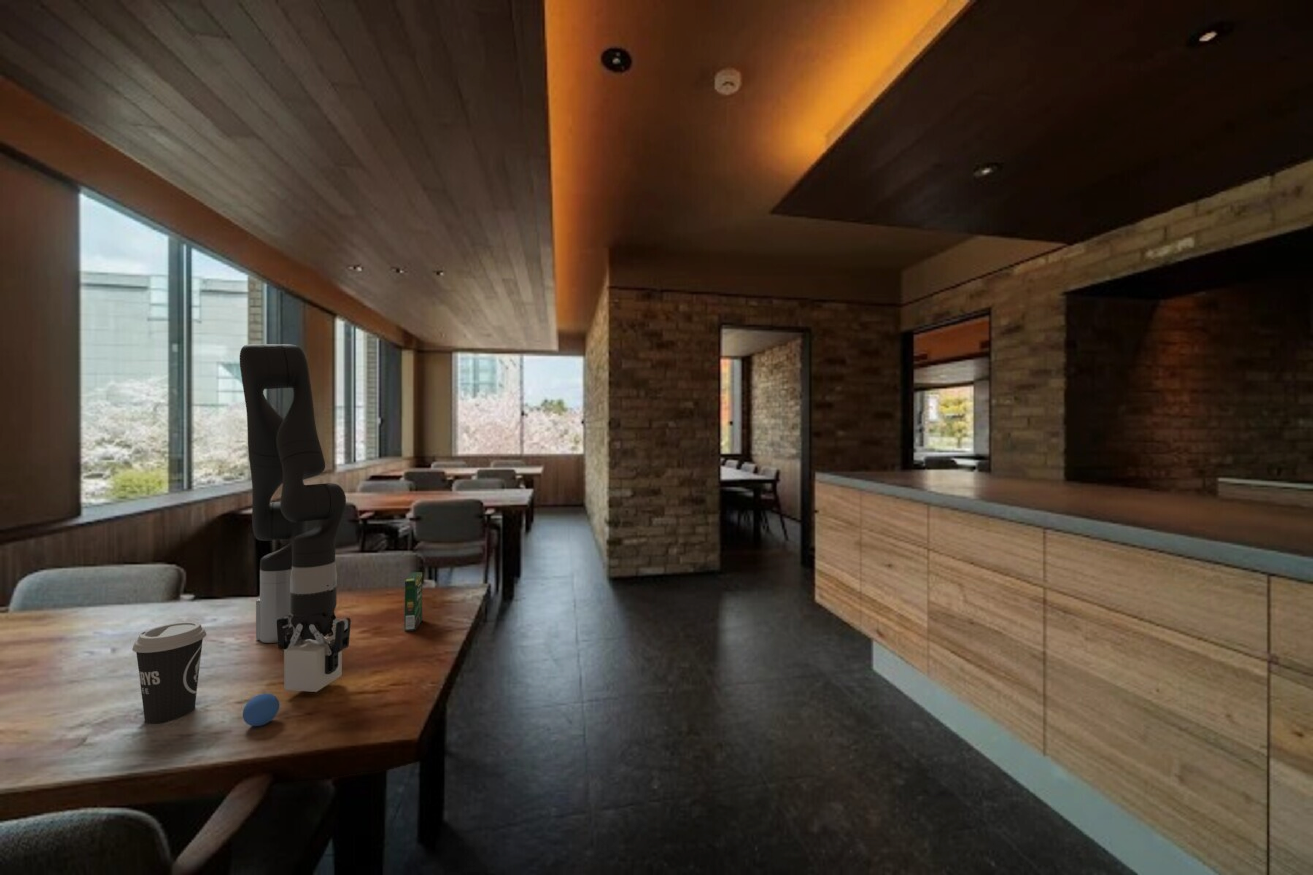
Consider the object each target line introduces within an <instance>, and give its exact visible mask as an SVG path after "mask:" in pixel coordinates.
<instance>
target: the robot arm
mask: <svg viewBox="0 0 1313 875" xmlns="http://www.w3.org/2000/svg"><path fill="white" fill-rule="evenodd" d="M239 367H240V368H239V369H240V377H241V382H242V383H241V384H242V389H243V396H244V403H245V408H246V409H245V410H246V420H247V421H246V422H247V425H246V426H247V450H248V451H247V452H248V461H249V468H250V469H249V470H250V477H251V485H252V487H251V488H252V491H251V492H252V500H251V501H252V503H251V504H252V505H251V507H252V509H251V510H252V511H251V520H252V521H251V525H252V532H253V535H254V537H255V539H256V540H258V541H279V540H288V539H289V540H290V542H289V543H288V544H287V545H285V546H284V547H282V548H280V549H278V550H275V551H273V552H270V553H267V554H266V555H264V556H262V557H261V558H260V561H259V598H258V599H257V600H256V601H255V640H259V641H260V642H261V643H267V644H268V643H269V644H273V643H274V644H275V643H277V646H278V649H279V650H285V649H287V648H289V647H291V646H296V645H297V644H298V643H300V642H302V641H305V640H307V639H311V640H317V642H318V644H319V646H322V647H325V653H326V656H325V674H331V673H332V672H334V671H335V670H336V668H337V667H338V653H339V652H340V651H342V652H343V650H346V649H347V648H348V647H349V646H350V636H351V634H350V633H351V622H352V620H351V618H350V617H346V618H337V616H336V613H335V610H336V607H337V603H338V602H337V600H338V599H337V595H338V592H337V588H338V586H337V580H338V579H337V578H338V574H337V566H336V540H337V535H338V532H339V530H340V529H339V528H340V526H341V525H340V524H341V522H342V519H343V515H344V513H345V509H346V506H347V497H346V493H345V491H344V490H343V488H342V486H340V485H339V484H337V483H333V482H332V483H331V482H330V483H329V482H327V483H318V484H317V483H313V484H305V483H304V480H307V479H308V480H309V479H311V478H314V477H317V476H319V475H321V474H322V473H323V472H324V471H325V469H326V460H325V457H324V454H323V450H322V446H321V443H320V440H319V435H318V432H317V427H316V426H317V425H316V419H315V418H316V417H315V412H314V411H315V408H314V402H313V401H314V400H313V392H312V384H311V377H310V371H309V367H308V361H307V358H306V355H305V352H304V350H303V349H302V348H301V347H300V346H298V345H296V344H290V343H282V344H280V343H279V344H276V343H272V344H271V343H269V344H268V343H263V344H262V343H261V344H260V343H254V344H252V343H251V344H246V345H243V346H242V347H241V349H240V351H239ZM291 388H292V390H293V398H292V402H291V405H290V407H289V409H288V411H287V413H286V414H285V416H284V418H283V417H282V416H281V414H279V413H278V412H277V411H276V409H274V408H273V406H272V405H271V404H270V402H269V401H268V399H267V397H266V396H265V395H264V390H275V389H291ZM281 485H282V487H281V496H280V501H274V502H271V500H272V498H273V496H274V494H275V492H277V490H278V489H279V488H280V486H281ZM310 521H311V522H312V521H313V522H314V521H317V523H316V525H315V527H313V528H312V529H311V530H308V522H310ZM324 637H328V638H327V639H326V638H324ZM329 642H330V643H332V647H331V646H330V644H329Z"/></svg>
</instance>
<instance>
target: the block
mask: <svg viewBox="0 0 1313 875" xmlns="http://www.w3.org/2000/svg"><path fill="white" fill-rule="evenodd" d="M328 637H329V636H325V637H324V638H326V639H327V638H328ZM329 644H330V646H331V647H332V643H330V642H329ZM283 651H284V652H283V668H284V669H283V672H284V673H283V683H284V685H283V690H284V691H297V692H298V691H299V692H314V693H317V692H318V691H321V690H322V689H323V688H324V687H326V686H328V685H329V684H331V683H332V682H334V681H335V680H337V679H338V678H340V677H342V674H343V673H342V672H343V668H342V667H343V666H342V664H343V662H342V660H343V658H342V657H343V656H342V655H343V654H342V653H343V650H342V651H340V652H339V653H338V667H337V668H336V670H335V671H334V672H332V673H331V674H325V656H326V653H325V647H322V646H319V644H318V642H317V640H311V639H307V640H305V641H302V642H300V643H298V644H297V645H296V646H291V647H289V648H287V649H283Z"/></svg>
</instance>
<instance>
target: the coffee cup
mask: <svg viewBox="0 0 1313 875" xmlns="http://www.w3.org/2000/svg"><path fill="white" fill-rule="evenodd" d="M206 636H207V631H206V630H205V628H204V627H202V625H201V623H200V622H199V621H179V622H173V623H167V624H162V625H158V626H155V627H152V628H149V629H146V630H144V631H142V632H141V633H140V634H139V635H138V637H137V639H136V640H135V642H134V643H133V646H132V648H131V650H132V652H135V654H136V658H137V659H136V660H137V667H138V676H139V683H140V692H141V700H142V709H143V717H144V722H145V723H147V724H160V723H166V722H169V721H173V720H176V719H180V718H182V717H185V716H186V715H188V714H190V713H191V712H192V711H194V709H195V708H196V701H197V692H198V684H199V674H200V673H199V672H200V668H201V667H200V665H201V658H202V657H201V656H202V648H203V647H202V646H203V642H204V641H203V640H204V638H205V637H206Z"/></svg>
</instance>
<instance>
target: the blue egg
mask: <svg viewBox="0 0 1313 875" xmlns="http://www.w3.org/2000/svg"><path fill="white" fill-rule="evenodd" d="M279 710H280V701H279V698H278V696H276V695H274V694H272V693H268V692H267V693H265V692H264V693H261V694H258V695H255V696H254V697H252V698H251V699H249V701H247V702H246V704H245V706H244V708H243V711H242V718H243V721H244V723H246V725H249V726H251V727H260V726H264V725H266V724H268V723H269V722H271V721H272V720H273V719H274V718H275V717H276V716H277V715H278V713H279Z"/></svg>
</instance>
